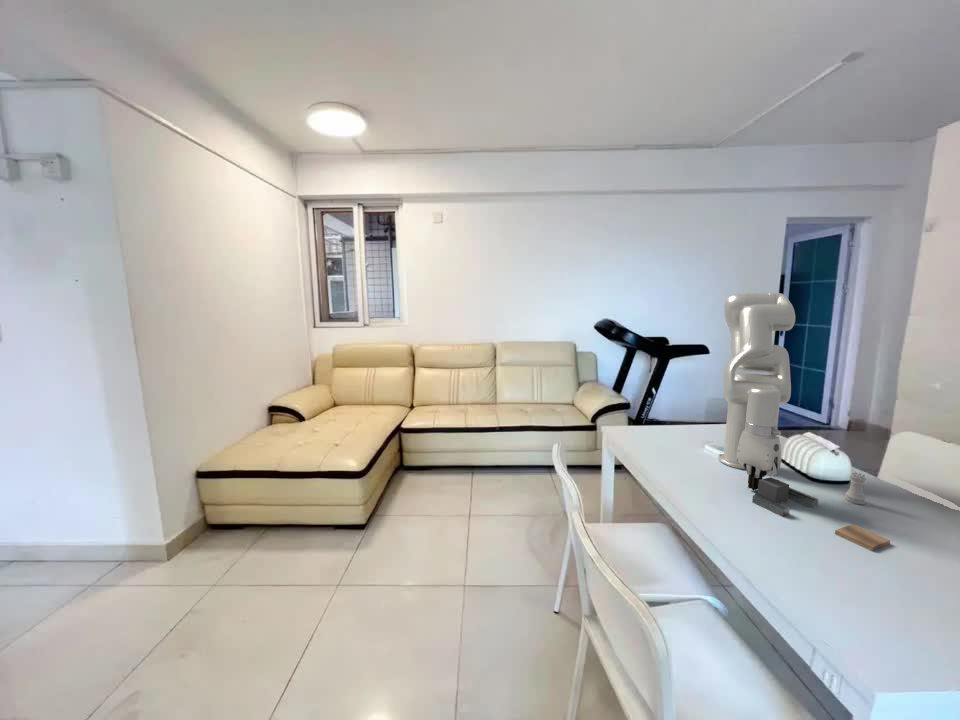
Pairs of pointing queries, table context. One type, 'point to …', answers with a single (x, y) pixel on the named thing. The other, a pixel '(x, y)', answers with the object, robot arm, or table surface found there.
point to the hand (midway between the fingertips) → (754, 488)
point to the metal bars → (783, 509)
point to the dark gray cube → (773, 489)
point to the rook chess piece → (856, 489)
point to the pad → (862, 537)
